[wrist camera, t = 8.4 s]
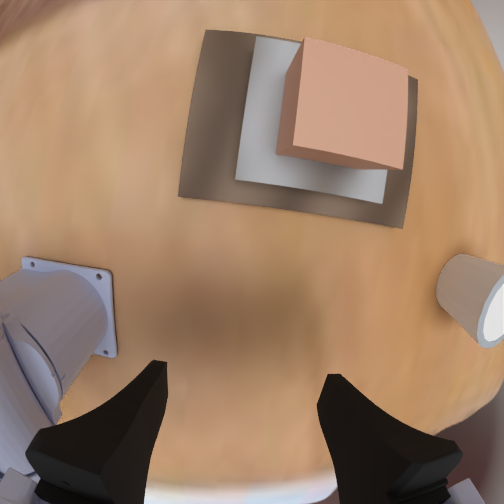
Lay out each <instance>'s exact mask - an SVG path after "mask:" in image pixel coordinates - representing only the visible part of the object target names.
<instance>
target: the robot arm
mask: <svg viewBox="0 0 504 504" xmlns="http://www.w3.org/2000/svg"><path fill="white" fill-rule="evenodd" d="M33 262H34V265H35V266H34V265H33ZM21 263H22V269H21V270H19V271H17V272H15V273H13V274H12V275H10V276H8V277H6V278H4V279H3V280H1V281H0V504H144V496H145V488H146V482H147V475H148V469H149V464H150V458H151V455H152V451H153V448H154V444H155V441H156V438H157V435H158V432H159V429H160V426H161V423H162V420H163V417H164V414H165V409H166V403H167V398H168V383H167V362H163V361H157V360H153V361H151V362H150V363H149V364H148V365H147V367H146V368H145V369H144V370H143V371H142V372H141V373H140V374H139V375H138V376H137V377H136V378H135V379H134V380H133V381H131V382H130V383H129V384H128V385H127V386H126V387H125V388H124V389H122V390H121V391H120V392H119V393H117V394H116V395H115V396H114V397H112V398H111V399H110V400H108V401H107V402H105V403H104V404H102V405H101V406H99V407H97V408H96V409H94V410H92V411H90V412H88V413H86V414H84V415H82V416H80V417H78V418H75V419H73V420H70V421H67V422H65V423H62V424H58V425H56V424H57V422H58V421H59V419H60V417H61V416H62V412H61V410H60V401H61V400H62V398H63V397H64V395H65V394H66V392H67V391H68V389H69V388H70V386H71V385H72V383H73V382H74V380H75V379H76V377H77V376H78V374H79V373H80V371H81V370H82V368H83V367H84V366H85V364H86V363H87V361H88V360H89V358H90V357H91V355H92V354H97V355H101V356H105V357H109V358H115V357H116V356H117V344H116V334H115V323H114V310H113V291H112V275H111V273H110V272H109V271H108V270H103V269H97V268H91V267H85V266H78V265H72V264H66V263H61V262H55V261H49V260H44V259H38V258H33V257H27V256H25V257H23V258H22V260H21ZM98 273H99V274H101V276H102V278H100V277H99V276H98ZM105 350H106V351H108V353H107V352H106V351H105ZM317 411H318V416H319V422H320V425H321V428H322V431H323V434H324V437H325V440H326V443H327V446H328V449H329V452H330V455H331V458H332V461H333V465H334V469H335V474H336V479H337V486H338V492H339V500H340V504H485V503H484V501H483V500H482V498H481V496H480V495H479V493H478V491H477V490H476V488H475V487H474V485H473V484H472V482H471V480H470V479H466V480H464V481H462V482H460V483H458V484H456V485H454V486H452V487H451V488H449V489H448V490H447V488H446V486H445V485H447V484H448V481H447V479H446V477H447V476H448V474H449V473H450V472H451V471H452V470H453V469H454V468H455V467H456V465H457V464H458V463H459V462H460V460H461V458H462V455H463V453H462V451H461V450H460V449H459V447H458V446H457V444H456V443H455V441H452V440H447V439H443V438H439V437H435V436H432V435H429V434H427V433H424V432H421V431H419V430H416V429H414V428H412V427H410V426H408V425H406V424H404V423H402V422H400V421H399V420H397V419H395V418H394V417H392V416H391V415H389V414H387V413H386V412H385V411H383V410H382V409H381V408H379V407H378V406H376V405H375V404H374V403H373V402H371V401H370V400H369V399H368V398H367V397H365V396H364V395H363V394H362V393H361V392H360V391H359V390H357V389H356V388H355V387H354V386H353V385H352V384H351V383H350V382H349V381H348V380H346V379H345V378H344V377H343V376H342V375H341V374H328V375H327V378H326V380H325V383H324V386H323V389H322V392H321V395H320V397H319V400H318V403H317ZM38 481H39V483H38V484H37V483H36V482H38Z"/></svg>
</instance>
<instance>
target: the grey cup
mask: <svg viewBox="0 0 504 504" xmlns="http://www.w3.org/2000/svg"><path fill="white" fill-rule="evenodd" d="M436 298H437V300H438V302H439V305H440V306H441V307H442V308H443V309H444V310H445V311H446V312H447V313H448V314H449V315H450V316H452V317H453V318H454V319H455V320H456V321H457V322H458V323H459V324H460V325H461V326H462V327H463V328H464V329H465V330H466V332H467V333H468V334H469V335H470V336H471V337H472V338H473V339H474V340H475V341H476V342H477V343H478V344H479V345H480V346H482V347H483V348H485V349H486V348H490V347H494V346H495V345H497V344H498V343H499V342H501V341H502V340H503V339H504V265H501V264H498V263H495V262H491V261H488V260H485V259H481V258H478V257H474V256H471V255H467V254H458V255H456V256H454V257H452V258H451V259H450V260H449V261H448V262H447V263H446V264H445V265H444V267H443V269H442V271H441V273H440V275H439V278H438V282H437V285H436Z"/></svg>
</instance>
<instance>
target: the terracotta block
mask: <svg viewBox="0 0 504 504" xmlns="http://www.w3.org/2000/svg"><path fill="white" fill-rule="evenodd" d="M407 110H408V69H407V68H404V67H402V66H399V65H397V64H394V63H392V62H389V61H387V60H384V59H381V58H378V57H376V56H373V55H370V54H367V53H364V52H361V51H358V50H354V49H351V48H348V47H344V46H341V45H337V44H333V43H330V42H326V41H322V40H317V39H313V38H309V37H304V39H303V41H302V43H301V45H300V47H299V49H298V50H297V52H296V54H295V56H294V58H293V60H292V62H291V64H290V66H289V68H288V70H287V72H286V75H285V83H284V92H283V100H282V108H281V116H280V124H279V132H278V140H277V148H276V155H282V156H289V157H295V158H301V159H307V160H313V161H318V162H324V163H329V164H334V165H339V166H344V167H348V168H353V169H358V170H403V163H404V153H405V142H406V129H407Z"/></svg>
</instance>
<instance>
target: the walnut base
mask: <svg viewBox="0 0 504 504" xmlns="http://www.w3.org/2000/svg"><path fill="white" fill-rule="evenodd" d="M301 43H302V42H300V41H295V40H290V39H284V38H279V37H273V36H266V35H259V34H251V33H242V32H232V31H219V30H206V31H205V35H204V40H203V44H202V49H201V53H200V58H199V63H198V68H197V73H196V78H195V83H194V88H193V94H192V100H191V105H190V111H189V118H188V124H187V130H186V137H185V144H184V152H183V159H182V167H181V176H180V185H179V194H178V197H187V198H197V199H206V200H215V201H224V202H232V203H241V204H249V205H257V206H264V207H272V208H279V209H286V210H293V211H300V212H307V213H313V214H320V215H326V216H333V217H339V218H345V219H351V220H357V221H362V222H368V223H374V224H379V225H385V226H390V227H395V228H400V229H403V224H404V219H405V214H406V208H407V202H408V196H409V189H410V182H411V175H412V167H413V158H414V148H415V136H416V121H417V94H418V80H417V79H415V78H413V77H411V76H408V110H407V129H406V142H405V153H404V163H403V170H358V169H353V168H348V167H344V166H339V165H334V164H329V163H324V162H318V161H313V160H307V159H301V158H295V157H289V156H282V155H276V148H277V140H278V132H279V124H280V116H281V108H282V100H283V92H284V83H285V75H286V72H287V70H288V68H289V66H290V64H291V62H292V60H293V58H294V56H295V54H296V52H297V50H298V49H299V47H300V45H301Z"/></svg>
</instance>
